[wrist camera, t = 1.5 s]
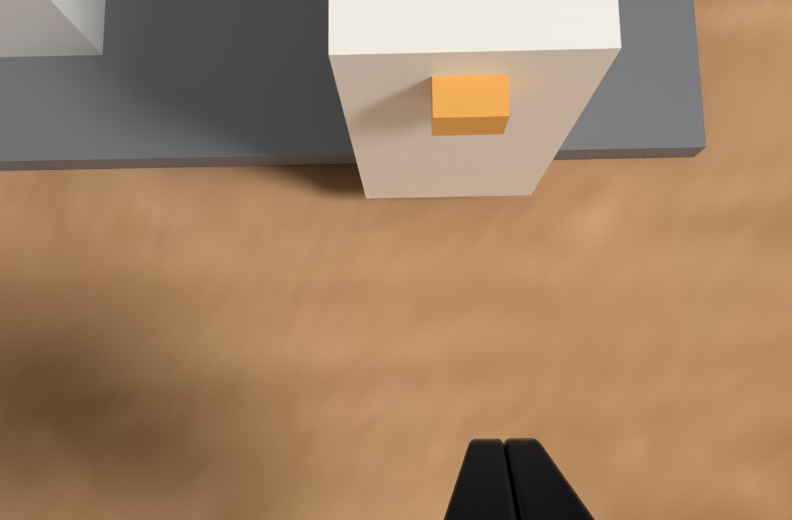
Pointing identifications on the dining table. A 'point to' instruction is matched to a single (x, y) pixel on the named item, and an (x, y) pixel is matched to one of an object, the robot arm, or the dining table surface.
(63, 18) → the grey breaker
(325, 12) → the mounting board
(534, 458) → the robot arm
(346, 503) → the dining table surface
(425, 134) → the breaker module
